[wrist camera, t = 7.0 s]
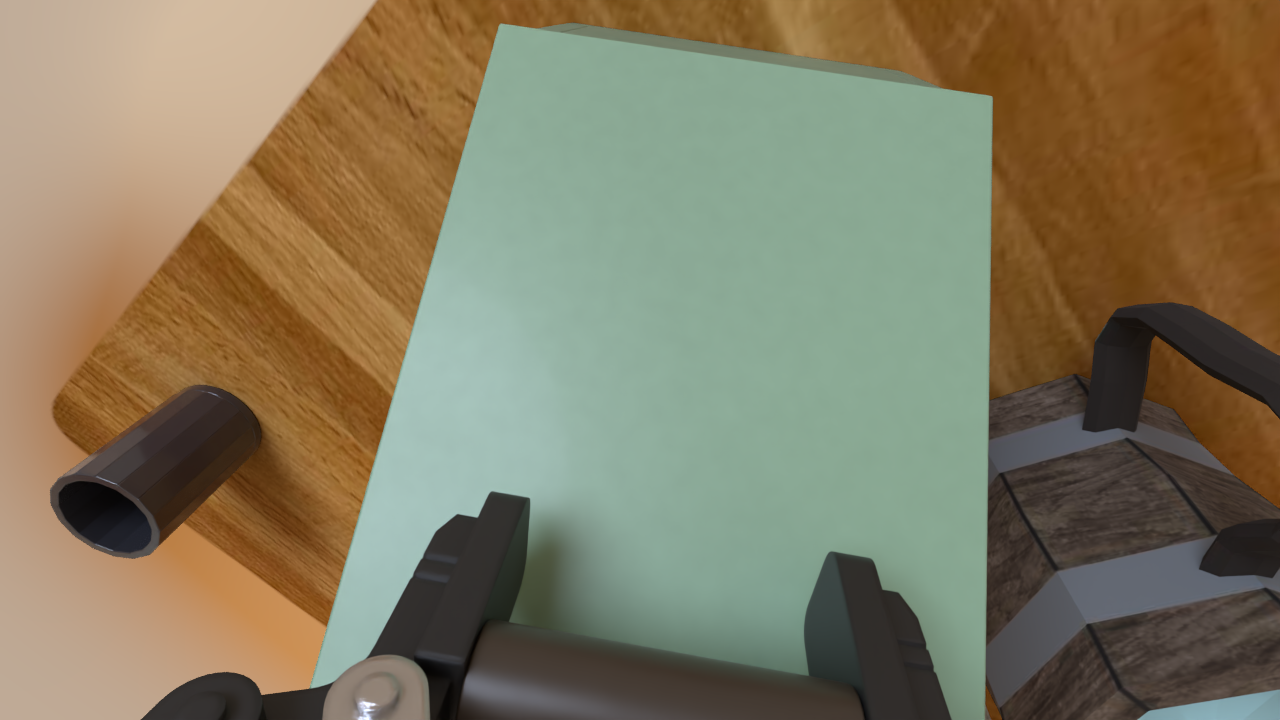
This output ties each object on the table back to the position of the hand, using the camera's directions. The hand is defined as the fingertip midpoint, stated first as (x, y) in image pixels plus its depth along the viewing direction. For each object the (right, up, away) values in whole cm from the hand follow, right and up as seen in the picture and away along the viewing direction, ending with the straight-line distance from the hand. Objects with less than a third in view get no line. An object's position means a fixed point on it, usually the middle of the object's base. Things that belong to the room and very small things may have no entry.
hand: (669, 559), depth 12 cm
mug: (+20, 0, +20) cm, 29 cm away
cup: (-25, 0, +26) cm, 36 cm away
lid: (+1, +3, +3) cm, 5 cm away
